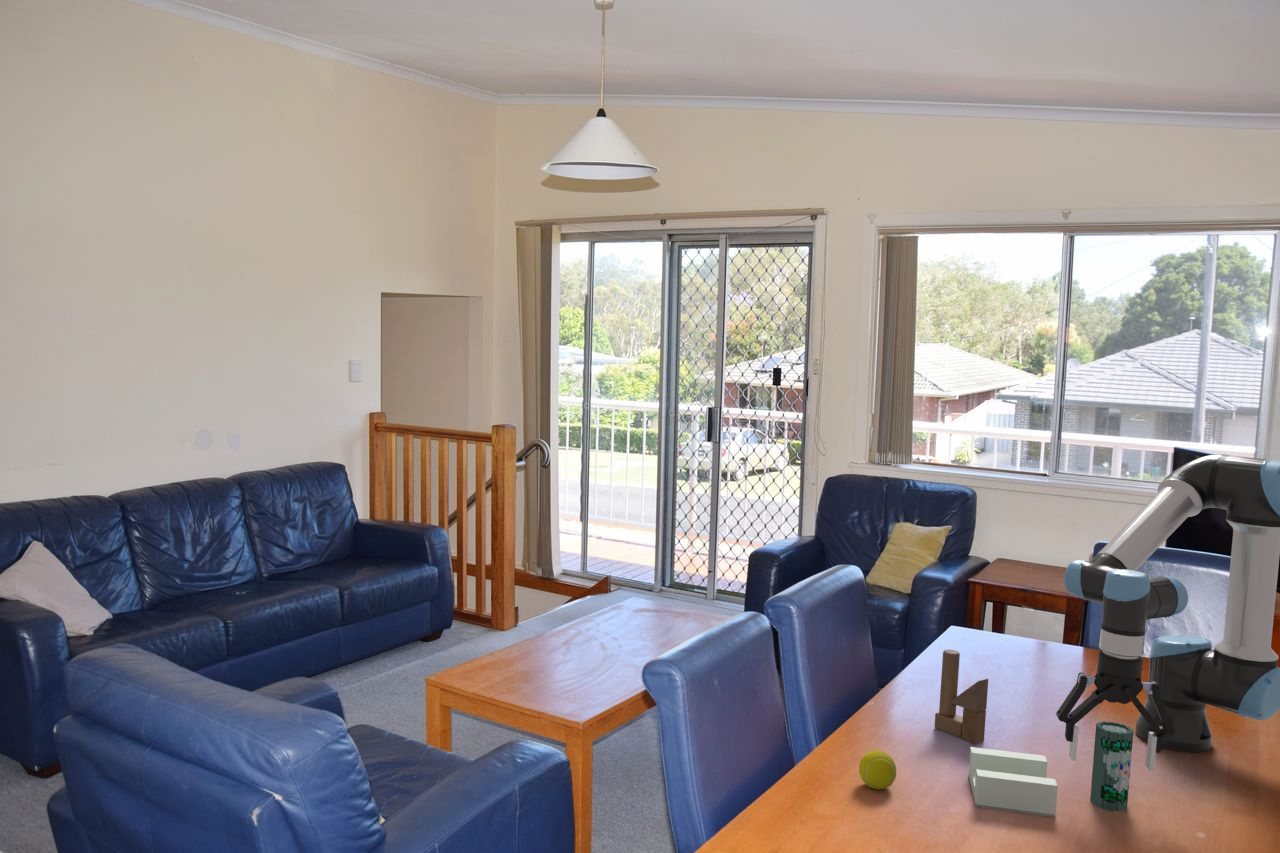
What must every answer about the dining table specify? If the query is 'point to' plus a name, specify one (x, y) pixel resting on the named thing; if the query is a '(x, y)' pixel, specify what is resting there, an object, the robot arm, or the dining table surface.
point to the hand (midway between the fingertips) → (1110, 763)
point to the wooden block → (961, 703)
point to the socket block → (1012, 782)
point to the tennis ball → (877, 769)
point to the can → (1111, 766)
